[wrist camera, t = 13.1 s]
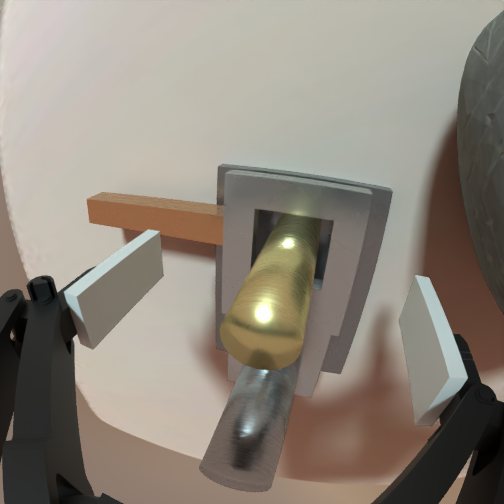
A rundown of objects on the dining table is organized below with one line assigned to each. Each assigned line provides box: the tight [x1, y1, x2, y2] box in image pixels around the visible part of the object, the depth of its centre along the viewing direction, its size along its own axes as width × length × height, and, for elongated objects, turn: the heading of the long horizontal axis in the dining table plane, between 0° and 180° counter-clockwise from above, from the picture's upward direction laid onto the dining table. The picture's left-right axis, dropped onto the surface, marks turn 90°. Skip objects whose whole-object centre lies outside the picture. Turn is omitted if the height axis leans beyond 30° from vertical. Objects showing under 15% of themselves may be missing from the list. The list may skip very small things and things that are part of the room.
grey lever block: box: [87, 164, 393, 492], centre depth 19 cm, size 18×22×15 cm
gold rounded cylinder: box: [220, 213, 321, 370], centre depth 16 cm, size 3×3×12 cm
